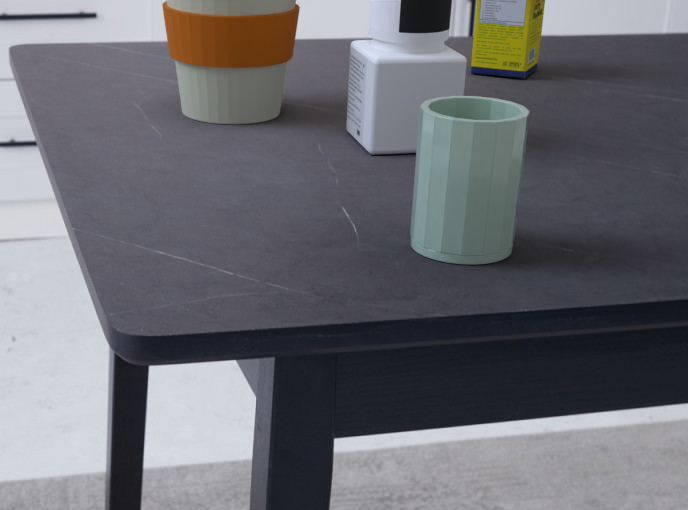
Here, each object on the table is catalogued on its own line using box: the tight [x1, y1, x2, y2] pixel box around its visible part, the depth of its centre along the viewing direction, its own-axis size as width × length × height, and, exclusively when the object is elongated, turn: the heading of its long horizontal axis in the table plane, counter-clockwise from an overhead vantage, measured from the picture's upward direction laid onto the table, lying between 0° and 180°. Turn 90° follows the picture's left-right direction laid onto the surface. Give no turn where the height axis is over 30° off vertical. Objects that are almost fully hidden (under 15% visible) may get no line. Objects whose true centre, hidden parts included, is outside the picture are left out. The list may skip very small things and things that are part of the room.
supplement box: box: [470, 0, 546, 80], centre depth 121 cm, size 6×6×11 cm
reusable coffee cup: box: [162, 0, 301, 125], centre depth 102 cm, size 12×13×15 cm
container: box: [346, 0, 468, 156], centre depth 95 cm, size 8×8×13 cm
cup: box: [409, 95, 531, 266], centre depth 73 cm, size 7×7×9 cm
